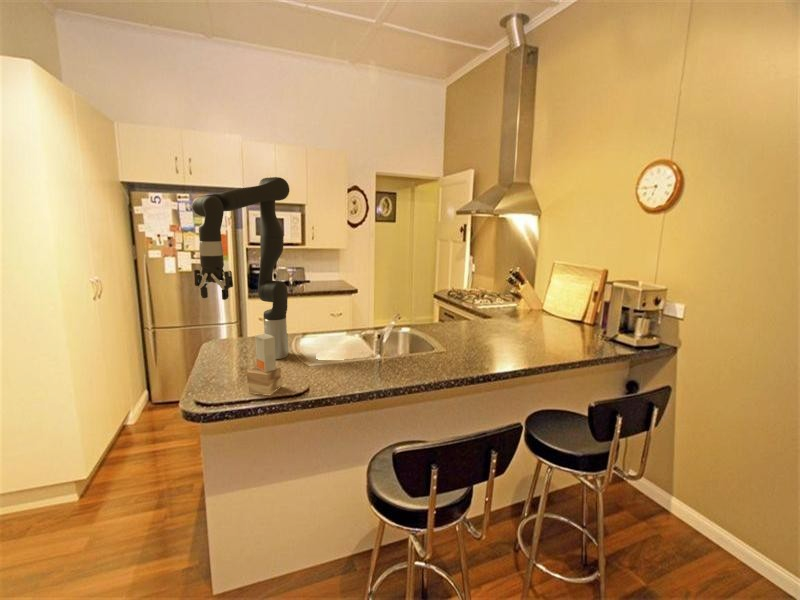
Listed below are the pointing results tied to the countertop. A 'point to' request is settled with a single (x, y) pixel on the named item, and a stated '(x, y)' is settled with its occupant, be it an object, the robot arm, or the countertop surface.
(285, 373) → the countertop surface
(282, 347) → the robot arm
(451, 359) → the countertop surface
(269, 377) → the tan square block
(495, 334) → the countertop surface
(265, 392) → the block lower
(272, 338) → the skincare box
